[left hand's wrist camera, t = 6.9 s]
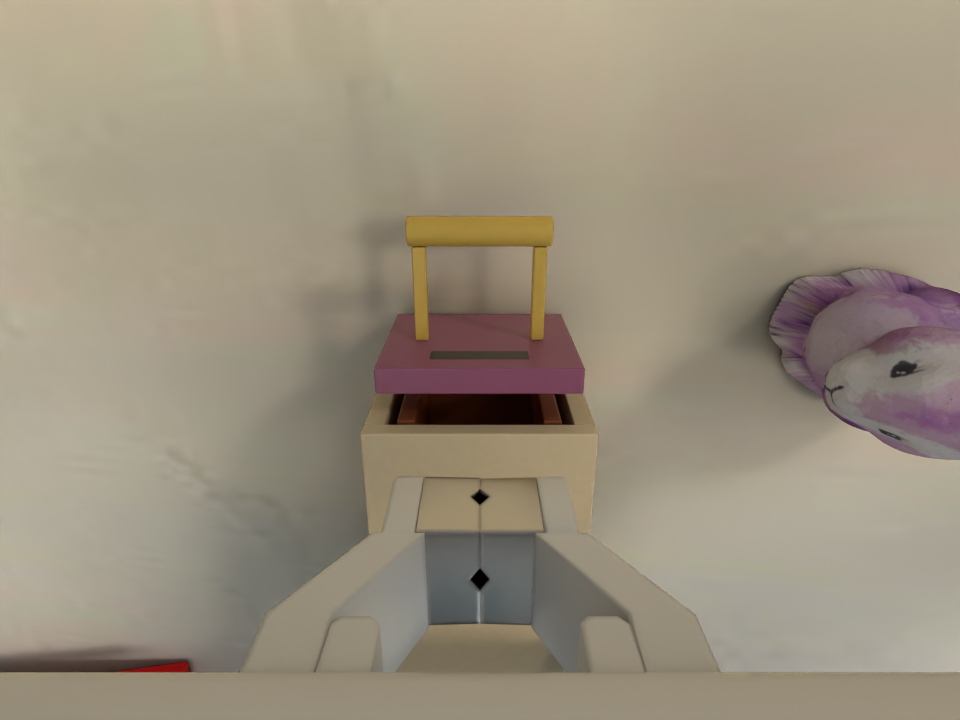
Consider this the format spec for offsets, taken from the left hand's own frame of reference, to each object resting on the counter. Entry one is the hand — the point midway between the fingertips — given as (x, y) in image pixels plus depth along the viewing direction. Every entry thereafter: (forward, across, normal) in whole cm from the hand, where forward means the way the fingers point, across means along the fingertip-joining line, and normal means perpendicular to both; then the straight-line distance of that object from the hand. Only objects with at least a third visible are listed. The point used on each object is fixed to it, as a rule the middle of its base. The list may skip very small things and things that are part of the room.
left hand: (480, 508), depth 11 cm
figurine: (+23, +20, -5) cm, 31 cm away
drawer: (+22, 0, -8) cm, 23 cm away
